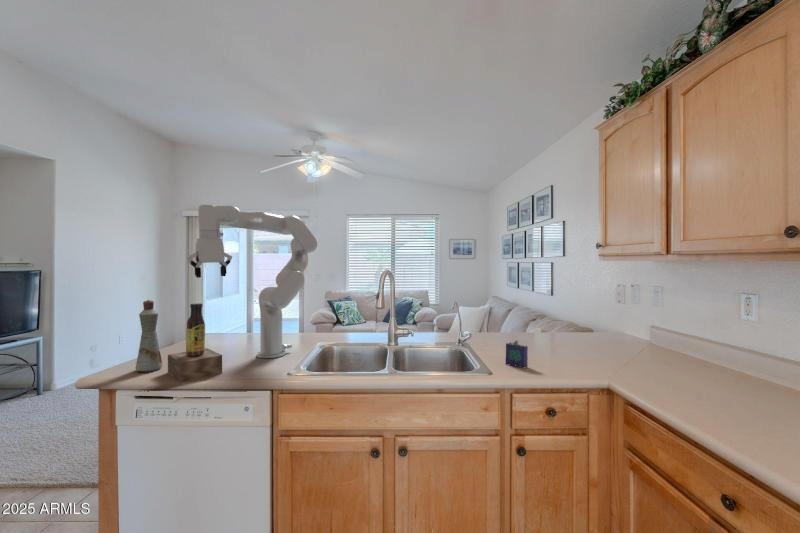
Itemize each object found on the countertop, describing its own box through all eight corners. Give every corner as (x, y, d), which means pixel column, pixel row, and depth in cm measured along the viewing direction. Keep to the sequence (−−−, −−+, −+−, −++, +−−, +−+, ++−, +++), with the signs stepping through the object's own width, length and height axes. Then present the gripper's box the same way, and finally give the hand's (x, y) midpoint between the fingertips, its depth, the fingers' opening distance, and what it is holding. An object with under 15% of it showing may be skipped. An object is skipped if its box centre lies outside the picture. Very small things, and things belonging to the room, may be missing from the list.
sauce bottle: (196, 357, 131) (196, 304, 131) (181, 356, 133) (181, 304, 132) (208, 353, 138) (208, 302, 138) (195, 352, 139) (195, 302, 139)
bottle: (128, 372, 135) (128, 300, 135) (148, 365, 144) (148, 298, 144) (148, 373, 134) (148, 301, 134) (167, 366, 143) (167, 298, 143)
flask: (528, 367, 144) (528, 341, 144) (525, 368, 142) (525, 342, 142) (506, 363, 150) (506, 338, 150) (504, 364, 148) (504, 339, 148)
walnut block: (206, 364, 146) (206, 348, 146) (222, 373, 135) (222, 355, 135) (167, 372, 135) (167, 354, 135) (181, 382, 125) (181, 362, 124)
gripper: (227, 236, 152) (228, 275, 153) (182, 235, 139) (184, 277, 140) (235, 235, 148) (236, 275, 148) (190, 234, 134) (191, 278, 135)
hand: (211, 276), depth 144 cm, fingers open, 9 cm apart
